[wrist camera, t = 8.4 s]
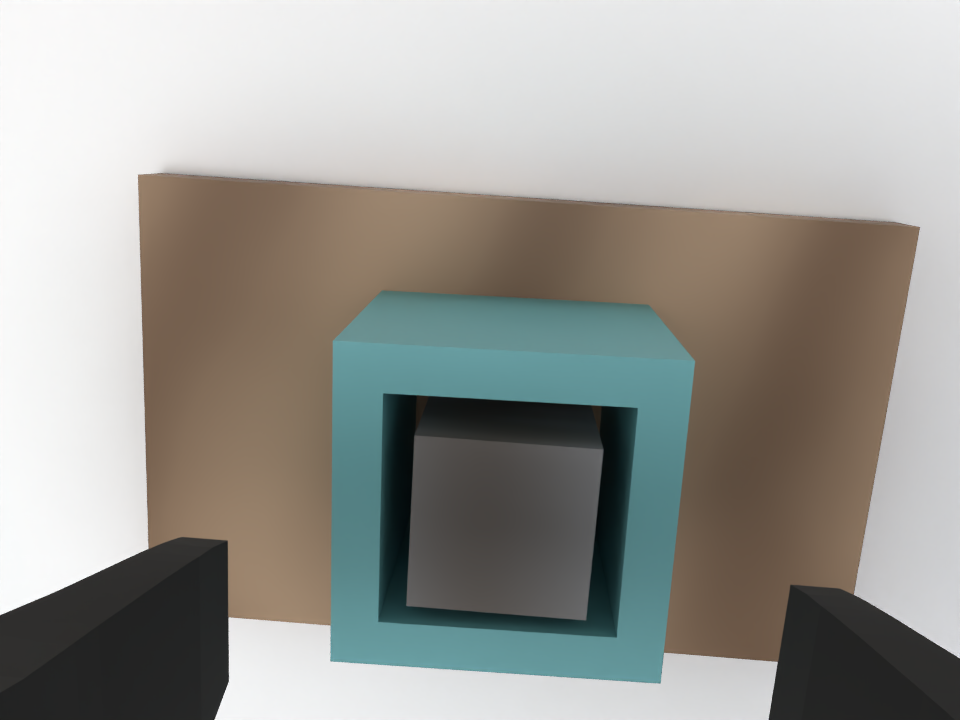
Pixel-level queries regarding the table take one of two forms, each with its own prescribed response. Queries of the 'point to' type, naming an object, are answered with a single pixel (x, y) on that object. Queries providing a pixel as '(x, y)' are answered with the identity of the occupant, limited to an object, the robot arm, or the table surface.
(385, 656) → the teal collar
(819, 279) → the post stand
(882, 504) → the table surface
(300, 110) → the table surface
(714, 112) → the table surface
